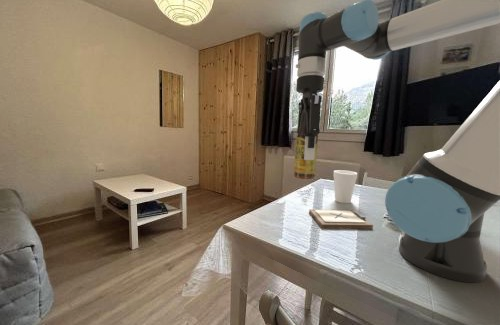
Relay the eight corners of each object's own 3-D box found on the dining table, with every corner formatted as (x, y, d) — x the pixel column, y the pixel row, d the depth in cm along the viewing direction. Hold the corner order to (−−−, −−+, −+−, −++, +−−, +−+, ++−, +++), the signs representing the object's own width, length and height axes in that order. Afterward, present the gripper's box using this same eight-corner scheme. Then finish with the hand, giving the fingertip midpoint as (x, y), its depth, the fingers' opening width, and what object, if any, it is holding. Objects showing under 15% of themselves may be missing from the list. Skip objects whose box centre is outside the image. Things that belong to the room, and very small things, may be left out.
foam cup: (358, 204, 88) (361, 174, 87) (336, 204, 89) (339, 173, 87) (348, 198, 98) (351, 170, 96) (328, 197, 98) (330, 169, 96)
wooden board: (372, 228, 66) (373, 222, 66) (322, 228, 65) (322, 221, 65) (351, 213, 79) (352, 207, 78) (309, 212, 78) (309, 206, 78)
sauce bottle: (289, 176, 65) (292, 110, 63) (306, 175, 67) (310, 112, 65) (302, 180, 59) (305, 108, 57) (320, 179, 61) (324, 109, 59)
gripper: (289, 84, 69) (286, 154, 72) (307, 66, 50) (301, 162, 53) (312, 85, 69) (308, 155, 72) (338, 67, 50) (331, 163, 53)
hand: (305, 158), depth 63 cm, fingers closed on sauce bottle, 6 cm apart
